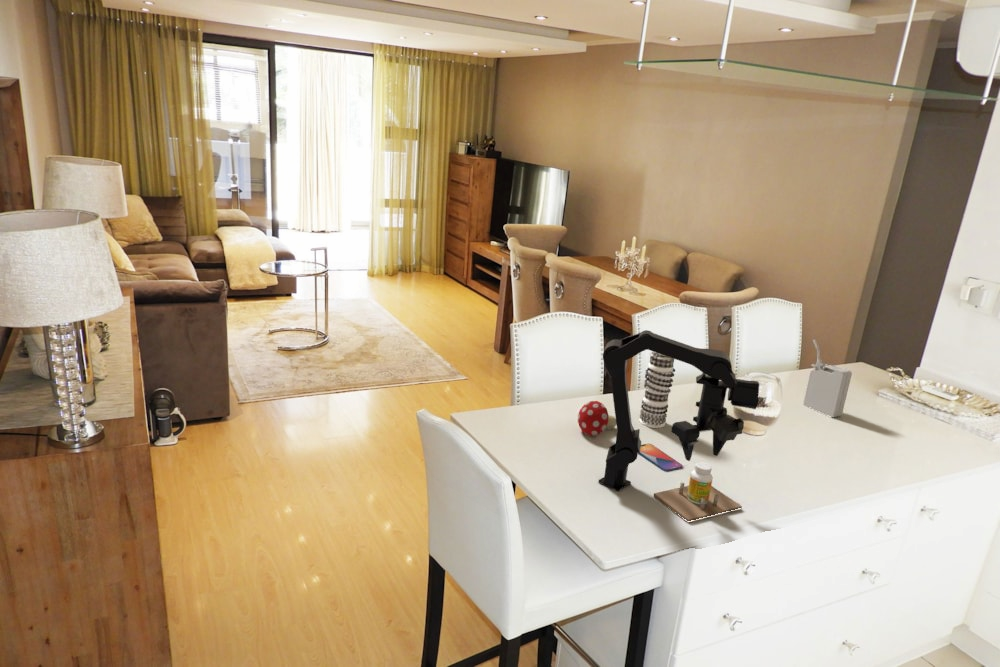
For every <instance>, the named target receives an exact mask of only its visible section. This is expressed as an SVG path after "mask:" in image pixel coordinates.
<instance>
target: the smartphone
mask: <svg viewBox="0 0 1000 667" xmlns="http://www.w3.org/2000/svg"><path fill="white" fill-rule="evenodd" d="M638 455H639V456H641V457H642V458H644V459H645V460H646V461H648V462H649V463H651V464H652V465H654V467H655V466H656V467H657V468H659V469H660V470H661V471H663V472H670V471H675V470H679V469H680V468H681V469H683V468H682V467H683V466H684V465H683V464H682V463H680V462H679V461H678V460H676V459H674V458H673V457H671V456H670V455H668V453H665V452H664V451H662V450H661V449H660V448H658V447H656V446H655V445H653V444H651V443H645V444H641V448H640V453H638ZM681 469H680V470H681Z"/></svg>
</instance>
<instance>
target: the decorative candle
mask: <svg viewBox="0 0 1000 667" xmlns="http://www.w3.org/2000/svg"><path fill="white" fill-rule="evenodd" d="M649 356H650V358H649V362H648V366H647V368H646V369H645V374H644V378H645V380H644V384H643V388H644V395H643V399H642V400H641V407H640V410H639V411H640V412H639V413H640V414H639V419H638V420H639V421H640V422H639V423H640V424H641V425H643V426H645V427H649V428H653V429H661V428H664V427H665V426H666V422H667V421H666V420H667V419H666V418H667V413H668V408H669V404H668V403H669V394H670V393H671V392H672V390H671V387H673V384H672V383H673V382H674V379H673V377H675V373H674V372H676V369H675V368H674V363H675V359H674V358H671V357H668V356H665V355H662V354H659V353H656V352H654V351H650V353H649Z"/></svg>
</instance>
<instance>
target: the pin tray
mask: <svg viewBox="0 0 1000 667" xmlns="http://www.w3.org/2000/svg"><path fill="white" fill-rule="evenodd" d="M688 487H689V485H686V486H685V483H684V482H680V485H679V487H676V488H672V489H668V490H663V491H659V492H653V498H655V499H656V501H658V502H660V503H661V504H662V505H664V506H665V505H666V506H667V507H669V508H670V509H671V510H673V511H674V512H676V513H677V514H679V515H680V516H681V517H683V518H684V519H686V520H687V521H691V520H696V519H699V518H703V517H707V516H711V515H715V514H718V513H722V512H726V511H731V510H735V509H738V508H741V509H742V507H743V505H741V504H740V503H738V502H737V501H735V500H733V499H732V498H730V497H729V496H727V495H726V494H724V493H723V492H721V491H720V490H718V489H717V488H716V487H714V486H712V485H711V490H710V495H709V500H708V503H706V504H705V501H706V498H704V497H702V500H701V505H699V504H695V503H693V502H691V501H689V500H688V498H687V493H688ZM666 506H665V507H666ZM667 507H666V508H667ZM669 508H668V509H669ZM670 509H669V510H670ZM671 510H670V511H671ZM673 511H672V512H673ZM674 512H673V513H674ZM677 514H676V515H677ZM681 517H680V518H681Z"/></svg>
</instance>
